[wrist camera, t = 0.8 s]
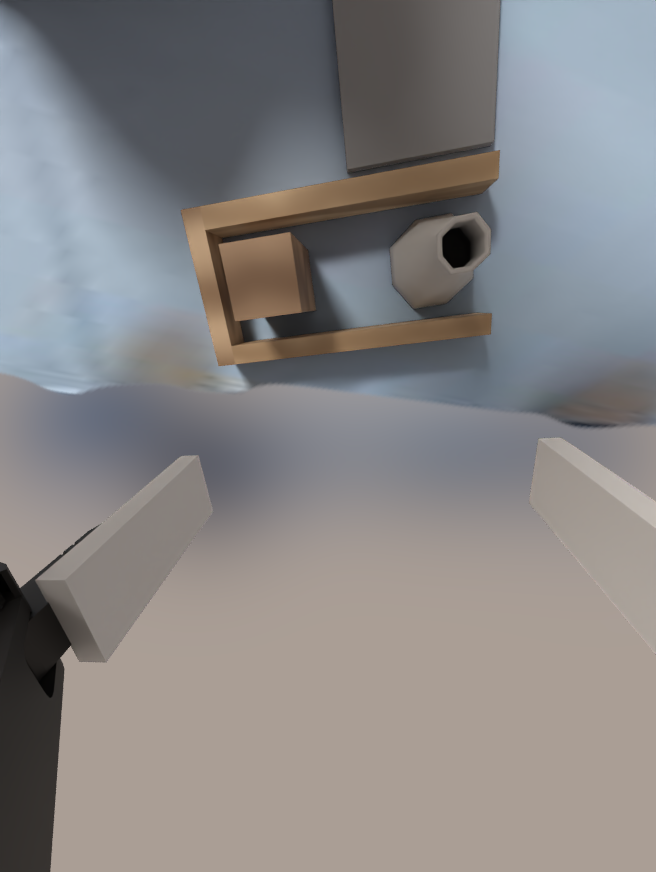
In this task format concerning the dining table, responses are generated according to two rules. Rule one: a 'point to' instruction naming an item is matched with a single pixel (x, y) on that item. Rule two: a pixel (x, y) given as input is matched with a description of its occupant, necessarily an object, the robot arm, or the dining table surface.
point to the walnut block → (268, 276)
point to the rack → (322, 205)
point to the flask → (438, 257)
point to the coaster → (415, 78)
